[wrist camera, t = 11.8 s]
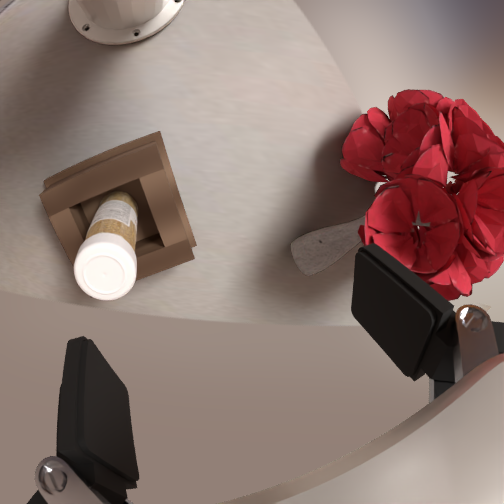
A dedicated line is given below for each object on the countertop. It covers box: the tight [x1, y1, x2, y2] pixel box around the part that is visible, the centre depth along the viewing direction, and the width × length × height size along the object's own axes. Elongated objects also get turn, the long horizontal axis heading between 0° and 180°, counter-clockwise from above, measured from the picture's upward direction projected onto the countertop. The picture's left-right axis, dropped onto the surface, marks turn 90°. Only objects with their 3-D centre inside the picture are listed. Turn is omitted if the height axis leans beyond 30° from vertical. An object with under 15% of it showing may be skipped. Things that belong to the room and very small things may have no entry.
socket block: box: [39, 131, 197, 298], centre depth 28 cm, size 14×14×5 cm
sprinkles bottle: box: [74, 191, 138, 300], centre depth 24 cm, size 5×5×13 cm
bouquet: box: [291, 89, 504, 301], centre depth 31 cm, size 22×24×30 cm
